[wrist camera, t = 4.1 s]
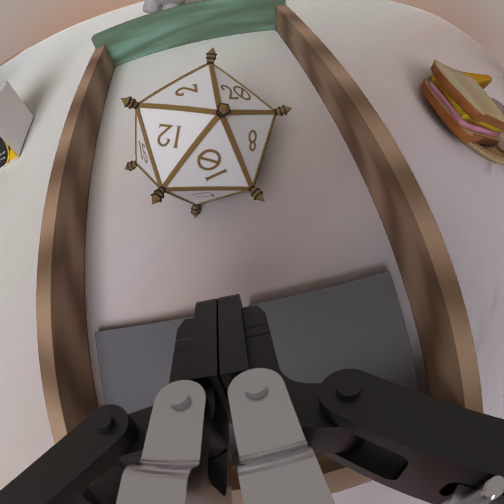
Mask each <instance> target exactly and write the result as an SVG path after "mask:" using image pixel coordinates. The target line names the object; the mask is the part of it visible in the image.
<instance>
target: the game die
mask: <svg viewBox="0 0 504 504" xmlns="http://www.w3.org/2000/svg"><path fill="white" fill-rule="evenodd" d="M206 54H207V57H206V59H207V63H206V64H204V65H202V66H200V67H198V68H197V69H195V70H193V71H191V72H189V73H187V74H185V75H183V76H182V77H180V78H178V79H176V80H174V81H173V82H171V83H169V84H167V85H166V86H164V87H162V88H161V89H159V90H157V91H155V92H154V93H153V94H151V95H149V96H148V97H146V98H145V99H143V100H142V101H140V102H137V101H136V99H132V97H128V98H121V100H122V101H123V103H124V105H125V107H129V109H130V108H134V109H136V110H135V154H136V161H131V162H127V166H126V167H125V169H126V170H130V171H131V170H134V169H135V168H136V166H138V167H139V168H140V169H141V170H142V171H143V172H144V173H145V174H146V175H147V176H148V177H149V178H150V179H151V180H152V181H153V183H154V184H155V185H156V186H157V187H158V189H157V190H155V191H154V193H153V194H151V196H152V204H154V203H157V202H161V201H162V198H164V193H168V194H170V195H172V196H175V197H177V198H179V199H182V200H184V201H186V202H189V203H191V204H193V206H192V208H191V210H192V211H191V213H192V214H193V216H194V217H196V216H197V215H198V214H199V213H200V211H199V210H200V208H199V204H202V203H206V202H209V201H213V200H216V199H220V198H223V197H227V196H230V195H234V194H238V193H241V192H245V191H250V192H251V196H253V197H254V200H260V201H264V198H263V192H262V191H260V189H259V188H256V187H255V182H256V179H257V176H258V172H259V169H260V166H261V162H262V159H263V156H264V153H265V149H266V146H267V143H268V140H269V136H270V133H271V130H272V127H273V123H274V120H275V117H276V116H277V115H281V116H282V115H284V114H285V115H287V113H288V112H289V111H290V110H291V108H290V107H286V106H284V105H282V107H278V108H277V109H272V108H271V107H270V106H269V105H268V104H266V103H265V102H264V101H263V100H261V99H260V98H259V97H258V96H256V95H255V94H254V93H253V92H251V91H250V90H249V89H247V88H246V87H245V86H243V85H242V84H241V83H239V82H238V81H237V80H235V79H234V78H233V77H231V76H230V75H229V74H227V73H226V72H224V71H223V70H222V69H220V68H219V67H217V66H216V65H215V64H214V61H215V59H216V55H217V54H216V53H215V50H214V48H212V49H211V50H210V51H209V52H208V53H206Z"/></svg>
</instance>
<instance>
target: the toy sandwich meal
mask: <svg viewBox="0 0 504 504" xmlns="http://www.w3.org/2000/svg"><path fill="white" fill-rule="evenodd" d="M431 70H432V73H433V75H431V76H429V77H428V78H427V79H425V80H424V82H423V83H422V85H421V89H422V91H423V93H424V95H425V97H426V98H427V100H428V101H429V103H430V104H431V106H432V107H433V108H434V110H435V112H436V113H437V115H438V116H439V118H440V119H441V120H442V121H443V123H444V124H445V125H446V126H447V127H448V128H449V130H450V131H451V132H452V133H453V134H454V135H455V136H456V137H457V138H458V139H460V140H461V141H462V142H463V143H464V144H465V145H467V146H468V147H469V148H470V149H472V150H473V151H474V152H476V153H477V154H479V155H481V156H482V157H484V158H486V159H488V160H490V161H493V162H496V163H500V164H504V106H503V105H502V104H501V103H500V102H499V101H497V100H495V99H493V98H490V97H489V96H488V94H487V93H486V92H485V91H484V90H483V89H484V88H485V87H486V86H487V85H488V84H489V83H490V82H491V81H492V78H491V76H489V75H481V74H474V73H466V72H461V71H457V70H454V69H451V68H449V67H447V66H445V65H443V64H442V63H440V62H438V61H437V60H434V63H433V65H432V67H431Z"/></svg>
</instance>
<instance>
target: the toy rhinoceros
mask: <svg viewBox="0 0 504 504" xmlns="http://www.w3.org/2000/svg"><path fill="white" fill-rule="evenodd" d="M194 1H197V2H198V1H203V0H194ZM184 4H185V0H145V2H144V5H143V11H144V12H146V13H154V12H157V11H159V10H160V6H161V8H162V10H164V9H168V8H172V7H176V6H180V5H184Z"/></svg>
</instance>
